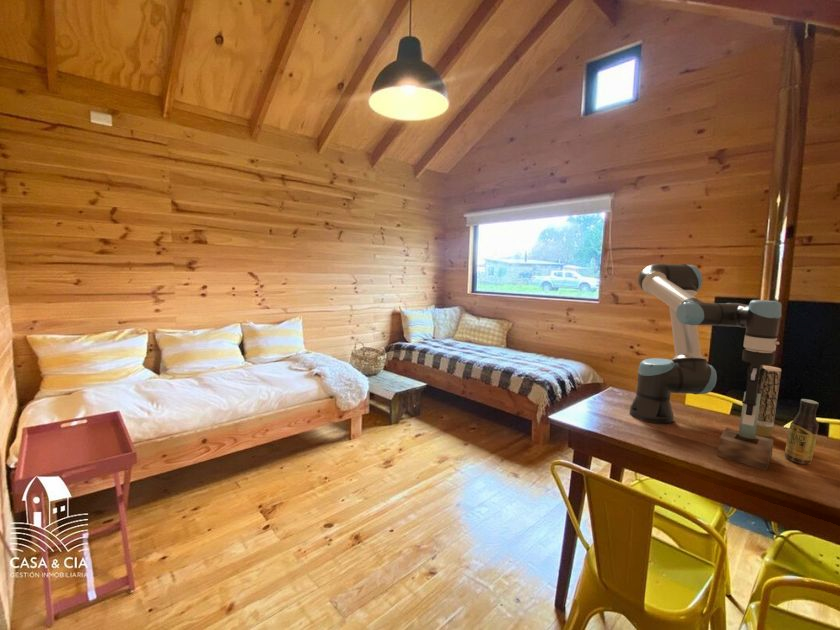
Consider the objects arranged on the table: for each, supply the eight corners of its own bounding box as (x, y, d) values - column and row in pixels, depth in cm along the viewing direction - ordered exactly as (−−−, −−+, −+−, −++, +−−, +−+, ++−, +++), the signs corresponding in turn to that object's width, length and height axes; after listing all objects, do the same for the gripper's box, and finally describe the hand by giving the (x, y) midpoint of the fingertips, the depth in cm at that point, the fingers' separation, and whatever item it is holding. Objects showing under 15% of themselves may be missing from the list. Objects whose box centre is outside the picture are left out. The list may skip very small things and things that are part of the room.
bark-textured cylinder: (776, 438, 138) (786, 370, 134) (754, 436, 139) (764, 369, 136) (763, 431, 144) (772, 365, 141) (743, 429, 145) (751, 364, 142)
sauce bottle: (778, 455, 125) (787, 396, 122) (796, 455, 125) (805, 396, 123) (800, 466, 118) (810, 404, 116) (818, 465, 119) (828, 404, 116)
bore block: (717, 455, 124) (719, 437, 123) (724, 444, 132) (726, 427, 131) (766, 470, 115) (769, 451, 115) (771, 457, 124) (773, 439, 123)
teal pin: (737, 435, 123) (743, 393, 121) (740, 432, 126) (745, 390, 124) (753, 439, 120) (759, 396, 118) (756, 436, 123) (762, 393, 121)
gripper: (772, 356, 111) (761, 433, 114) (778, 348, 122) (767, 419, 125) (738, 351, 116) (729, 425, 119) (747, 344, 128) (738, 412, 131)
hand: (749, 422), depth 122 cm, fingers closed on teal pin, 4 cm apart
